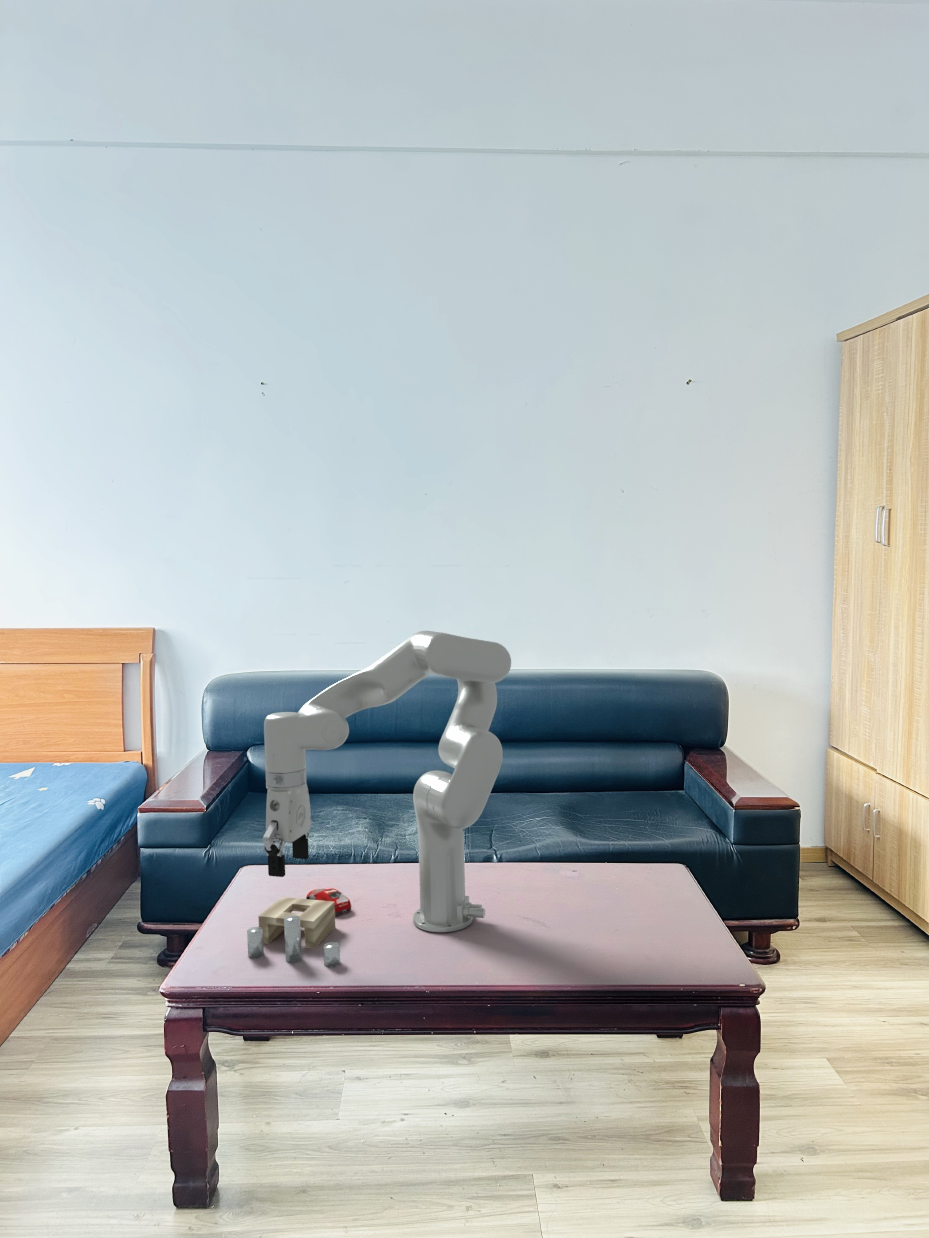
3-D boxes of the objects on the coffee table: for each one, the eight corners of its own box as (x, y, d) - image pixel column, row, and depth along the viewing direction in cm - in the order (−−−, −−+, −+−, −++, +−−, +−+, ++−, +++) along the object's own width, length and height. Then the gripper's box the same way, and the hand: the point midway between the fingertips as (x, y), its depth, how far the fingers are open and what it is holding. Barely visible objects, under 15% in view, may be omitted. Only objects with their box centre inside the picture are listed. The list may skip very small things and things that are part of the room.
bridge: (335, 927, 180) (334, 901, 179) (314, 948, 170) (313, 921, 170) (282, 922, 183) (281, 896, 183) (259, 942, 173) (258, 915, 173)
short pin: (342, 960, 165) (342, 942, 165) (336, 967, 162) (335, 949, 162) (328, 959, 166) (327, 941, 165) (321, 966, 163) (320, 948, 163)
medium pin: (266, 952, 169) (265, 927, 169) (259, 959, 166) (258, 933, 166) (253, 950, 170) (251, 926, 170) (245, 957, 167) (244, 932, 167)
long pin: (304, 956, 167) (302, 915, 166) (297, 963, 164) (295, 922, 164) (290, 954, 168) (288, 914, 167) (282, 961, 165) (281, 920, 164)
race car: (302, 902, 194) (302, 885, 194) (323, 896, 198) (323, 878, 198) (332, 920, 184) (332, 901, 184) (354, 913, 188) (354, 895, 187)
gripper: (282, 791, 154) (285, 885, 155) (323, 768, 171) (326, 853, 172) (244, 788, 156) (248, 881, 157) (289, 766, 173) (292, 850, 174)
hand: (289, 866), depth 165 cm, fingers open, 9 cm apart
